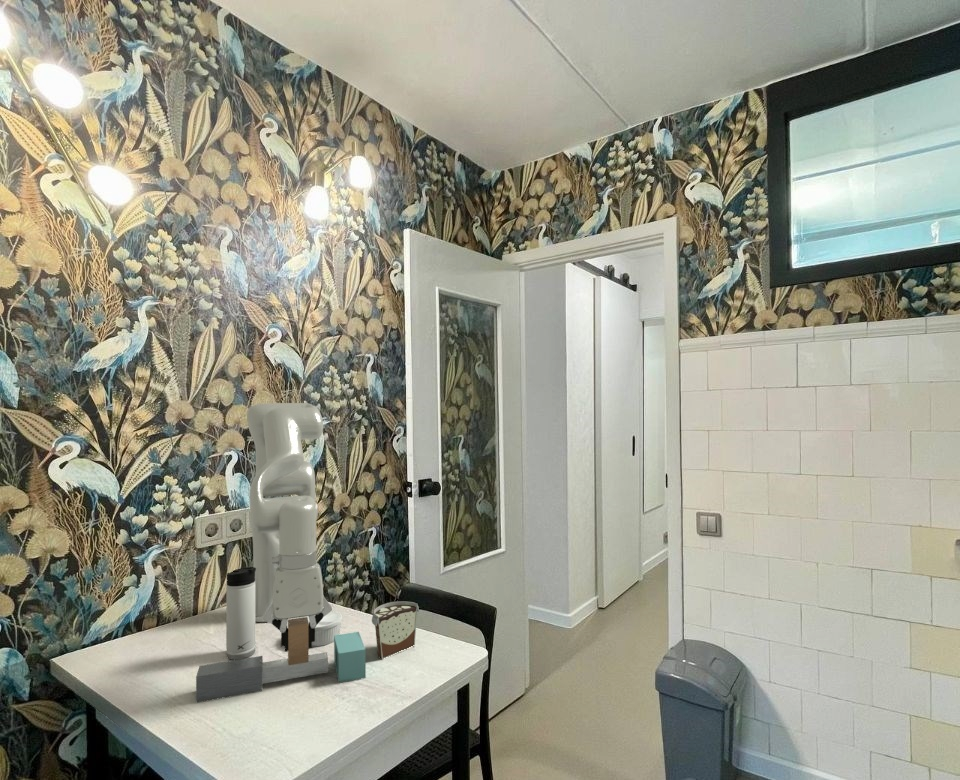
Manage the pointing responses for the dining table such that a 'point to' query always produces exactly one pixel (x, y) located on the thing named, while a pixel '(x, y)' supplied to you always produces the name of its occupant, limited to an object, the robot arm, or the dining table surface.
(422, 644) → the dining table surface
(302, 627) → the multicoloured piece
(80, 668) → the dining table surface
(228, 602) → the travel mug
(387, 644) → the food container
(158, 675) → the dining table surface
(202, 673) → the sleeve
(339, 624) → the ramekin
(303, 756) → the dining table surface
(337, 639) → the socket block
